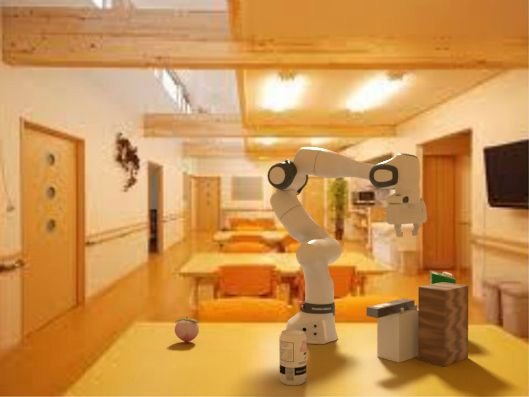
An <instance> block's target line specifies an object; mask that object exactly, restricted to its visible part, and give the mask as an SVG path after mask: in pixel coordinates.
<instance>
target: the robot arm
mask: <svg viewBox="0 0 529 397" xmlns="http://www.w3.org/2000/svg"><path fill="white" fill-rule="evenodd" d="M309 176H314V177H319V178H324V179H342V178H358V179H364V180H368V181H369V182H370V183H371V185H372V186H374V187H375V188H377V189H380V190H381V189H382V190H391V191H392V190H395V191H394V193H392V194H391V195H389V196H387V197H386V203H387V205H386V223H387V224H388V225H390V226H391V225H392V226H393V227H394V231H395V232H396V233H395V234H396V235H395V236H396V238H402V237H404V232H403V231H402V225H408V224H409V225H410V224H411V225H412V224H413V230H411V235H412V236H413V237H414V236H415V237H416V236H419V230H420V227H421V224H423V223H427V220H428V212H427V205H426V203H425V201H424V199H423V198H422V197H421V186H420V180H421V164H420V159H419V157H417V155H414V154H409V153H405V152H404V153H402V152H401V153H397V154H396V155H395V156H393V157H391V158H390V159H388V160H385V161H383V162H379V163H377V164H374V163H370V162H369V163H368V162H362V161H358V160H355V159H353V158H351V157H347V156H345V155H343V154H341V153H339V152H336V151H334V150H329V149H325V148H322V147H311V146H305V147H300V148H299V149H298V150H297V151H296V152H295V153H294V157H293V159H292V160H290V159H286V160H283V161H279V162H277V163H275V164H273V165H271V167H270V168H269V170H268V172H267V181H268V183H269V184H270V185H271V186H272V188H274V189H276V190H275V191H274V192H273V193H272V194H271V196H270V199H269V204H270V206H271V208H272V211H273V213H274V214H275V215H276V218H277V219H278V220H279V222H280V223H281V225H282V226H283V227H284V229H285V230H286V232H287V233H288V234H289V236H290V237H291V238H292V239H294V240H295V241H297V242H298V243H300V245H299V246H298V247H297V249H296V251H295V257H296V261H297V262H298V264H299V265H300V266H301V270H302V274H303V277H304V285H305V287H304V290H305V291H304V292H305V294H304V295H305V299H304V301H302V300H299V301H298V306H299V309H300V311H298V312H296V314H294V315H293V316H292V317H290V318H289V319H288V320H287V323H286V326H285V330H292V329H294V330H301V331H304V333H305V335H306V344H309V345H310V344H316V345H325V344H327V343H331V342H334V341H336V340H339V336H338V333H337V329H336V328H337V327H336V322H335V315H336V302H335V298H334V297H335V290H334V289H335V285H334V284H335V283H334V280H333V279H332V277H331V274H330V270H329V265H332V264H333V263H335V262H336V261H337V260H338V259H340V257H341V255H342V252H343V249H342V244H341V243H340V242H339V241H338V240H337V239H335V238H334V237H332V236H331V235H330V234H329V233H328V232H327V231H326V230H324V229H323V227H322V226H320V225H319V224H318V223H317V221H315V220H314V219H313V218H312V216H311V214H309V212H308V210H307V209H306V208H305V207H304V205H303V203H301V201H300V199H298V197H297V196H299V195H300V194H301V193H302V190H303V189H305V187H306V186H307V184H308V182H309ZM280 335H281V333H280ZM280 335H279V336H280Z"/></svg>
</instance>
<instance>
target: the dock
mask: <svg viewBox="0 0 529 397" xmlns="http://www.w3.org/2000/svg"><path fill="white" fill-rule="evenodd" d="M376 319H377V321H376V322H377V326H376V327H377V329H376V332H377V334H376V335H377V338H376V341H377V342H376V343H377V344H376V346H377V347H376V348H377V350H376V351H377V353H376V354H377V355H376V356H377V358H381V359H385V360H389V361H392V362H396V363H402V362H404V361H408V360H410V359H413V358H418V304H415V305H414V309H411V310H407V311H404V308H401V312H399V313H396V314H392V315H388V316H384V317H380V318H376Z"/></svg>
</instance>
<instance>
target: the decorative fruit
mask: <svg viewBox="0 0 529 397" xmlns="http://www.w3.org/2000/svg"><path fill="white" fill-rule="evenodd" d="M174 322H175V326H174V334H175V335H176V337H177V338H178V339H180V340H181V341H183V342H185V343H190V342H191V341H193V340H194V339H196V338H197V337H198V334H199V332H200V330H199V328H200V326H199V322H198V321H197V319H196V318H195V319H194V318H188V316H186V317H185V318H179V319H177V320H175V321H174Z"/></svg>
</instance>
